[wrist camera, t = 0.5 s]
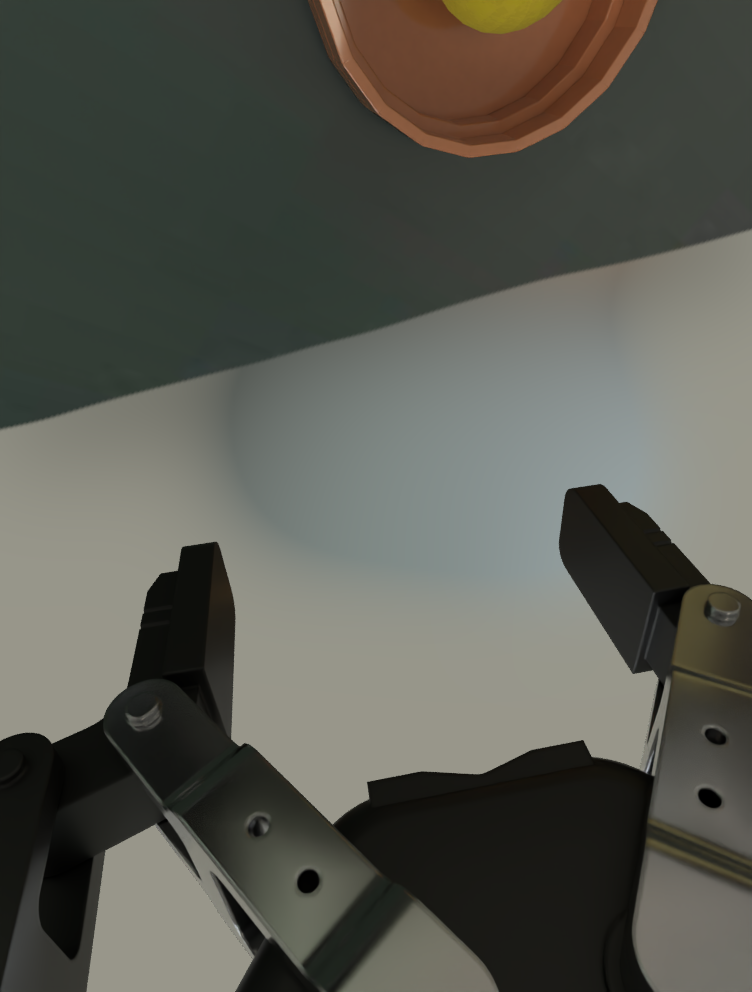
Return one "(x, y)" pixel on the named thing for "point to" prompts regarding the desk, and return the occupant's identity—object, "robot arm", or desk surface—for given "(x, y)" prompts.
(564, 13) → the pan
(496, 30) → the lemon
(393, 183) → the desk surface
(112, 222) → the desk surface
